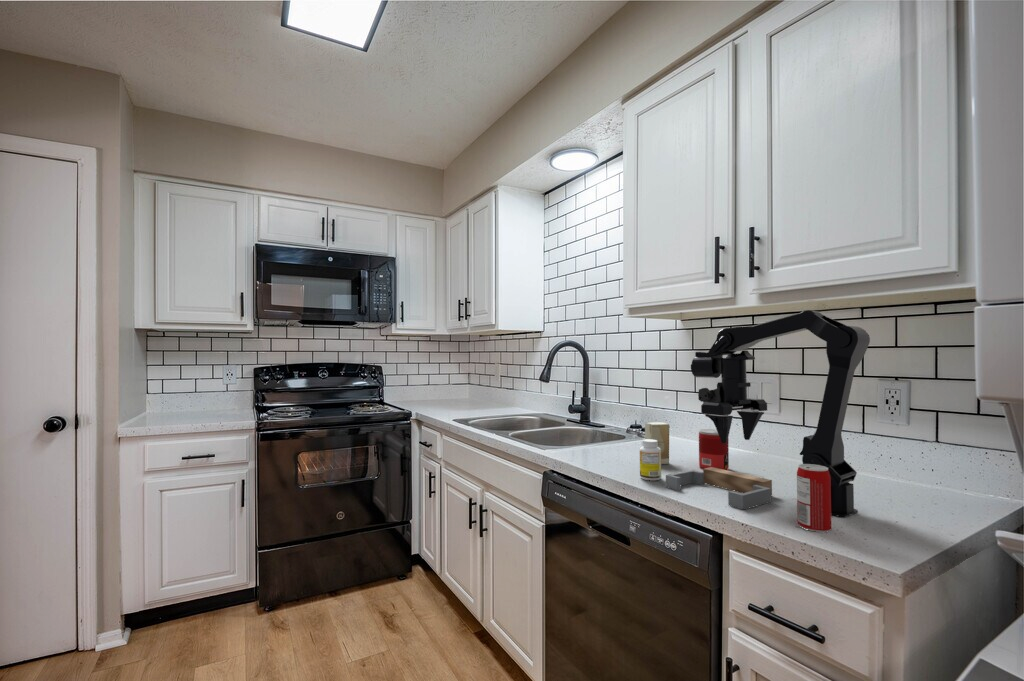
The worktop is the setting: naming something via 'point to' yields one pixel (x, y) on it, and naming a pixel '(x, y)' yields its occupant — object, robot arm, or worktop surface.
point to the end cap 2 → (750, 497)
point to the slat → (734, 480)
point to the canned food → (712, 450)
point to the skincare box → (659, 438)
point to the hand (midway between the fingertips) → (735, 441)
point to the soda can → (814, 497)
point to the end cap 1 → (684, 479)
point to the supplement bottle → (650, 460)
